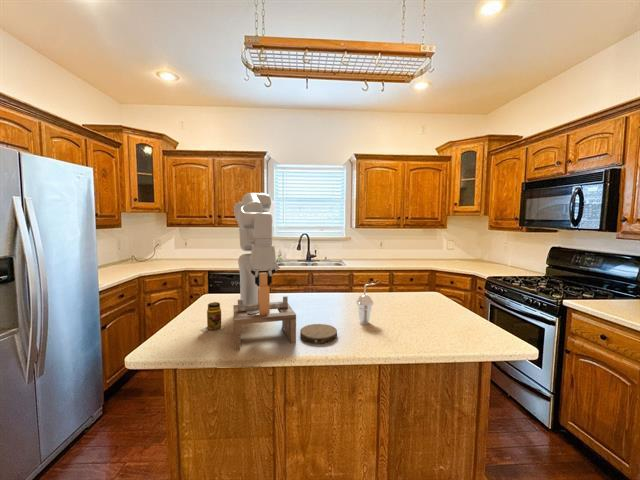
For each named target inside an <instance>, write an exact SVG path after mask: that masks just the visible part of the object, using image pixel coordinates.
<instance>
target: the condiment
mask: <svg viewBox="0 0 640 480" xmlns="http://www.w3.org/2000/svg"><path fill="white" fill-rule="evenodd" d="M206 318H207V319H206V321H207V323H206V324H207V326H206V327H204V328H202V329H200V331H204V332H208V333H215V334H216V333H217V332H220V331H221V330H223V329H224V328H225V326H222V309H221V303H220V302H218V301H217V302H216V301H214V302H210V303H208V304H207V310H206Z"/></svg>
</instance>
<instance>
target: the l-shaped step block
mask: <svg viewBox="0 0 640 480" xmlns="http://www.w3.org/2000/svg"><path fill="white" fill-rule="evenodd" d="M258 276H259V286H258V304H259V312H258V315H260V314H271V313H270V312H271V311H270V310H271V309H270V304H269V303H270V286H269V285H268V284H267V276H268V272H258Z"/></svg>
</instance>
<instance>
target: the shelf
mask: <svg viewBox="0 0 640 480" xmlns="http://www.w3.org/2000/svg"><path fill="white" fill-rule="evenodd" d="M288 298H289V297H288V296H286V295H283V297H282V301H273V302H270V301H269V304H270V310H277V311H278V312H274V313H270V314H247V311H257V310H259V304H258V303H257V304H244V305H243V300H242V299H240V298H239V299H237V304H235V305H233V306H232V308H233V337H234V338H233V339H234V351H240V349H241V325H250V324H251V325H252V324H259V323H261V324H262V323H268V322H269V323H271V322H281V325H282V329H283V331H284V333H285V335H286V337H287V339H288V340H289V343H290V345H291V344H292V345H293V344H296V343H297V314H296V312H295V311H294V310H293V308H292V307H291V305H290V304H289V303H288V302H289V301H288Z"/></svg>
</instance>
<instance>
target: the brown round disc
mask: <svg viewBox="0 0 640 480" xmlns="http://www.w3.org/2000/svg"><path fill="white" fill-rule="evenodd" d="M299 333H300V334H299V335H300V336H299V337H300V339H301V341H303V342H305V343H307V344H312V345H326V344H330V343H333V342H335V340H337V339H338V330H337V328H335V326H333V325H330V324H327V323H326V324H325V323H313V324H308V325H305V326H302V327H301V328H300V332H299Z"/></svg>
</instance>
